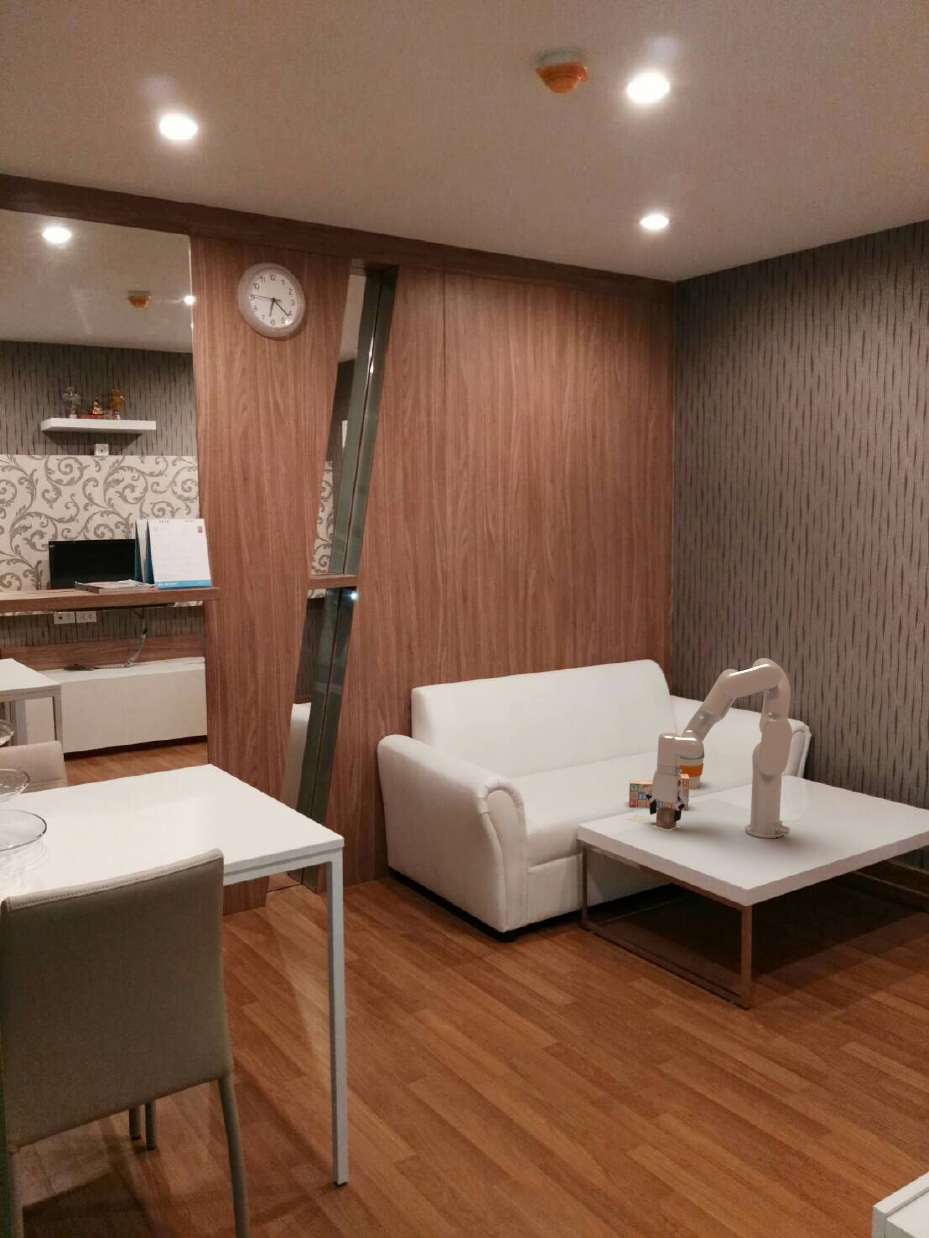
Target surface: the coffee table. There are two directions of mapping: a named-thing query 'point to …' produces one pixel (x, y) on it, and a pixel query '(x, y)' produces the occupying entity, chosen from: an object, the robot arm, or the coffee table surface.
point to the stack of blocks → (639, 797)
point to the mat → (644, 819)
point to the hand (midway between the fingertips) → (664, 817)
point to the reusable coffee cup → (692, 769)
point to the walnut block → (665, 818)
